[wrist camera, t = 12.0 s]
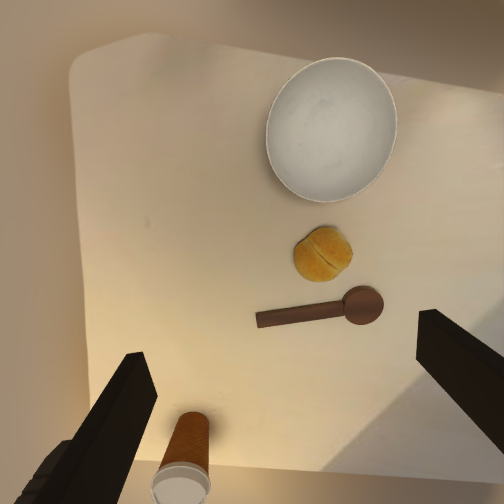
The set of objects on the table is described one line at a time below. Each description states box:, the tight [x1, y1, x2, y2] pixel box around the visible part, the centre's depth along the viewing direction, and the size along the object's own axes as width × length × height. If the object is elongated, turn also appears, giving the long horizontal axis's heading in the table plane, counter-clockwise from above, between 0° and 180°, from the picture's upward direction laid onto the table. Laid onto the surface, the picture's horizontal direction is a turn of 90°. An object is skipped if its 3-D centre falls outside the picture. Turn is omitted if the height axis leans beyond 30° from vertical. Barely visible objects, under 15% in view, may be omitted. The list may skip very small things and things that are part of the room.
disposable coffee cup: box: [151, 412, 211, 504], centre depth 45 cm, size 10×10×12 cm
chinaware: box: [266, 57, 397, 203], centre depth 32 cm, size 15×15×8 cm
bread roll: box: [294, 227, 353, 282], centre depth 39 cm, size 8×9×4 cm
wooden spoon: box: [256, 286, 384, 328], centre depth 43 cm, size 7×22×1 cm, turn 98°
